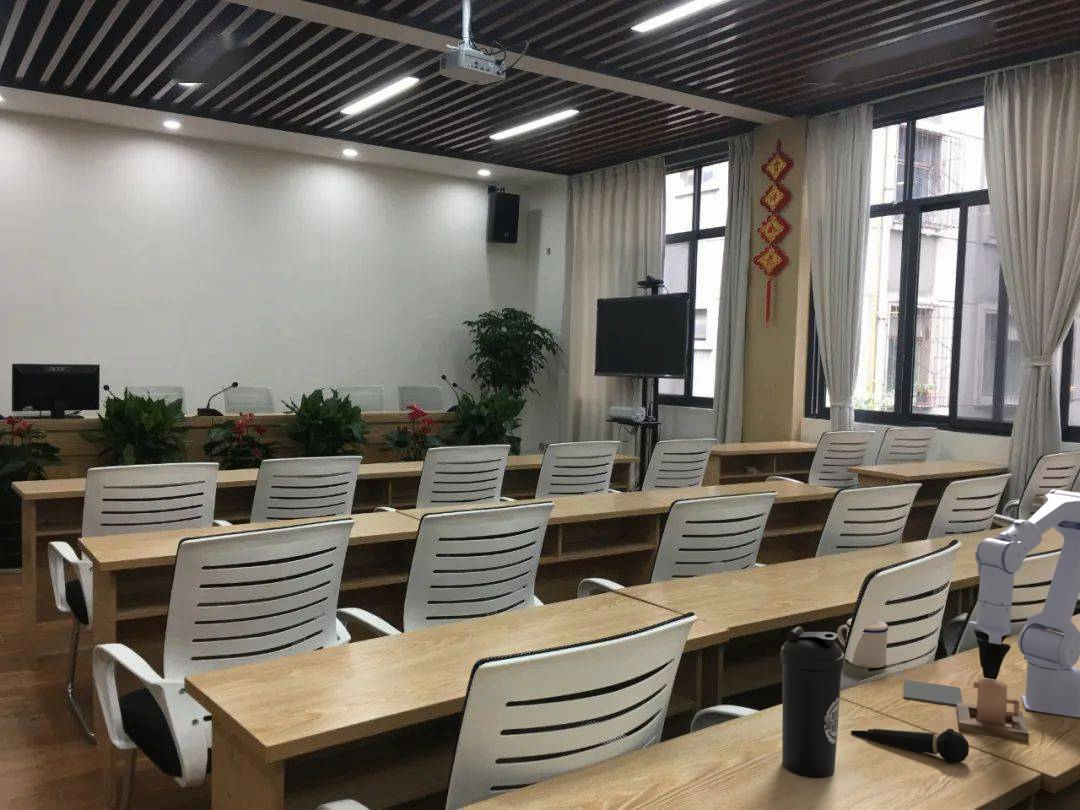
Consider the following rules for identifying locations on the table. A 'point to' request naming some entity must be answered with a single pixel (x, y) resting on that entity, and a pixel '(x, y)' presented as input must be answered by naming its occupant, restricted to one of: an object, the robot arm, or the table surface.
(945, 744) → the microphone
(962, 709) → the walnut holder
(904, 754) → the table surface
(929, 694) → the rubber mat
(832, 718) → the water bottle
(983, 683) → the terracotta jug
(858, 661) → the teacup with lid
